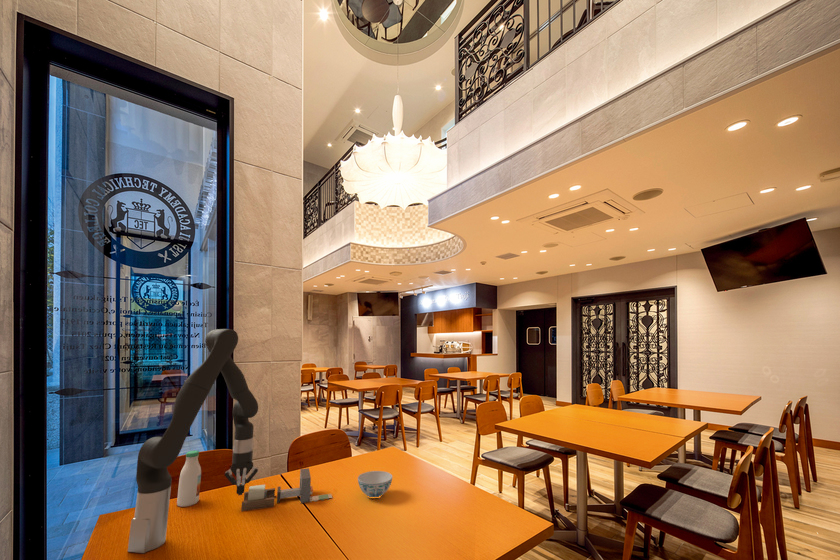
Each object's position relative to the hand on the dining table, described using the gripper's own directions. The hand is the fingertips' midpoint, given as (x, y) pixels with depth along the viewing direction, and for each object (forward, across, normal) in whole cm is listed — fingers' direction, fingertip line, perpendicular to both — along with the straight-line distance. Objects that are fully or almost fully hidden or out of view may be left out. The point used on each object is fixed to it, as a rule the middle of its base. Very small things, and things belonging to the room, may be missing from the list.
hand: (240, 494), depth 150 cm
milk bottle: (+4, -20, +10) cm, 23 cm away
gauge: (+4, +19, 0) cm, 19 cm away
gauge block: (+4, +6, 0) cm, 8 cm away
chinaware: (+5, +54, -10) cm, 55 cm away
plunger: (+4, +21, -1) cm, 22 cm away
